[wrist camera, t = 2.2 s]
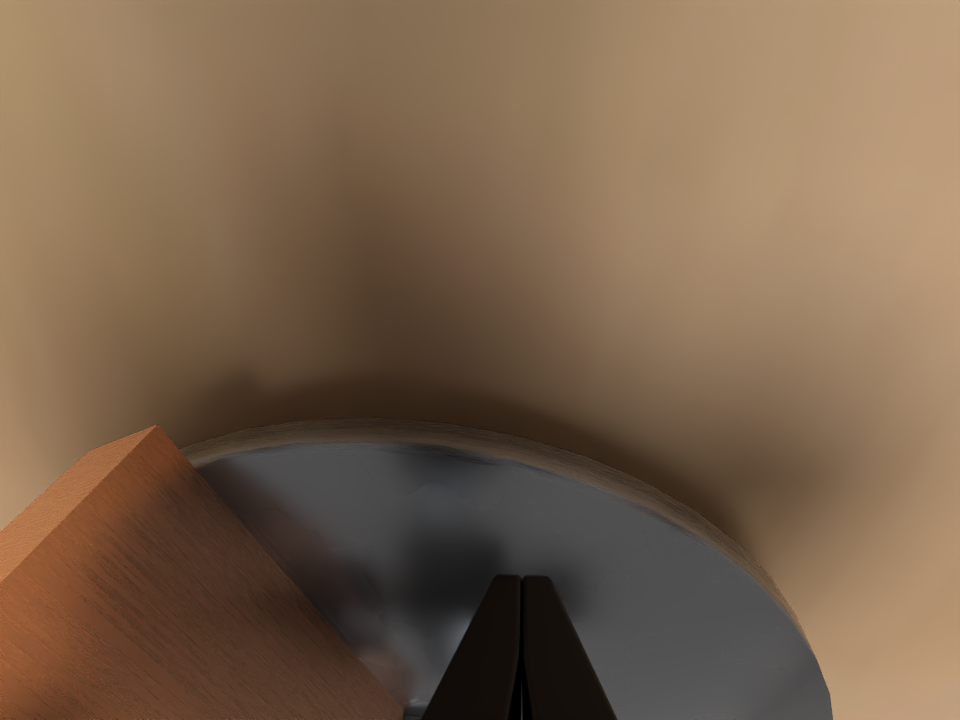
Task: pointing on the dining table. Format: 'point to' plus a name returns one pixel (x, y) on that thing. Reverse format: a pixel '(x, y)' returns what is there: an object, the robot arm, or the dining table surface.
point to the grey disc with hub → (371, 580)
